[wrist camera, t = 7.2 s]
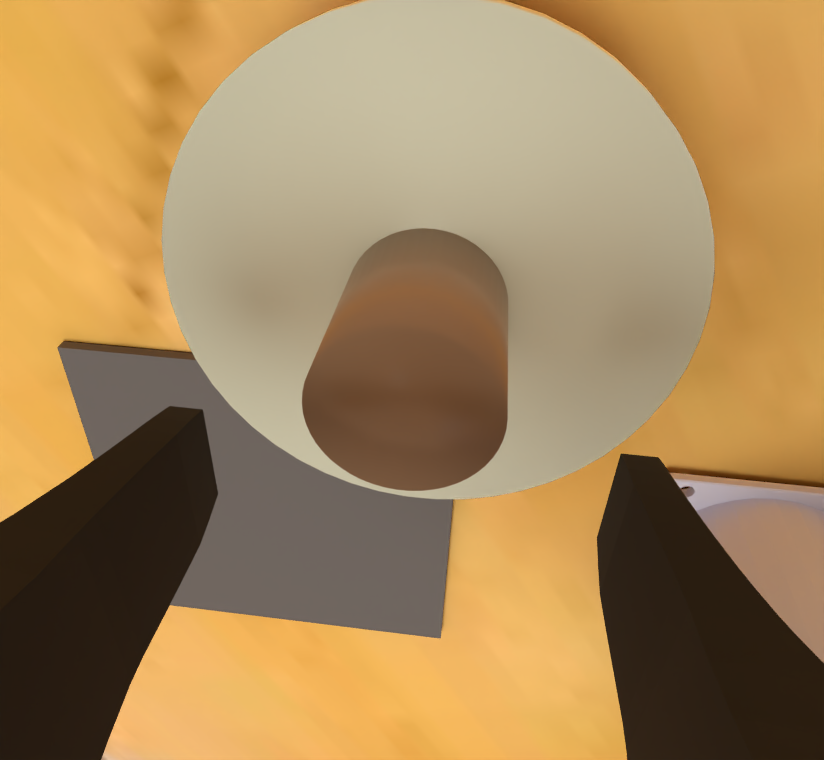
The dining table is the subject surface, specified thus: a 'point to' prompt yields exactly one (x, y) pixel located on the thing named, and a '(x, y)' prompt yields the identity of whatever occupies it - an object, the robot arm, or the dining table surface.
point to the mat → (274, 509)
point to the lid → (438, 247)
